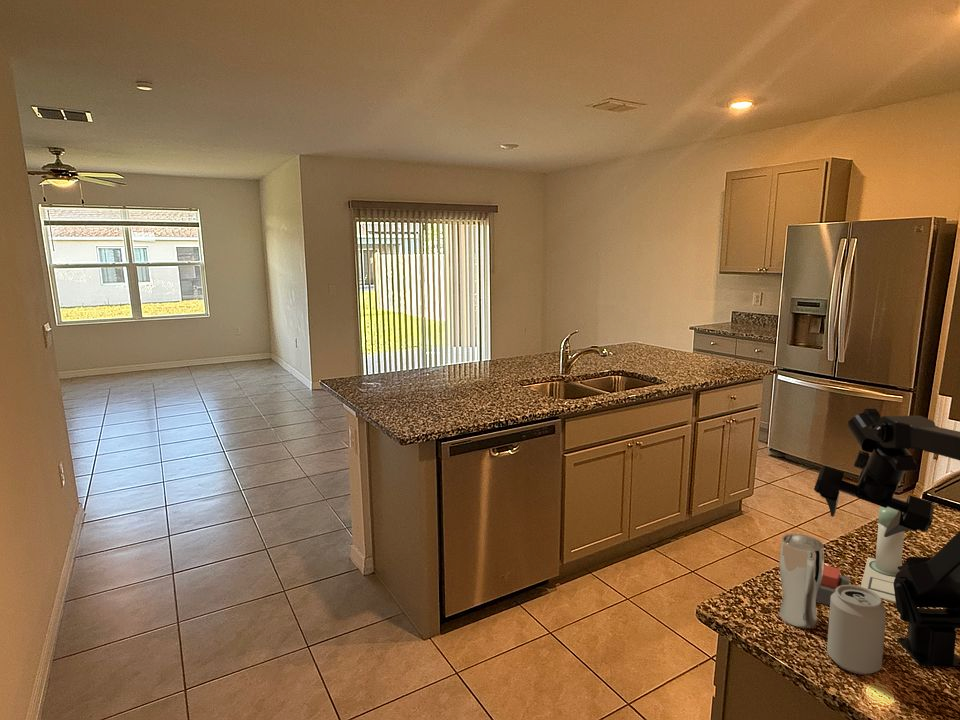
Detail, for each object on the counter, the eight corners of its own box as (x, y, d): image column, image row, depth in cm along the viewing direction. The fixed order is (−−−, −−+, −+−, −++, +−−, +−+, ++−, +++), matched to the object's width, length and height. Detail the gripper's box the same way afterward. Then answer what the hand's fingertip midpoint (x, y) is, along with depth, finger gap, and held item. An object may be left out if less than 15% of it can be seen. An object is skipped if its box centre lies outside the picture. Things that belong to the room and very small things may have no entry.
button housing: (844, 609, 106) (845, 595, 105) (798, 596, 111) (799, 582, 110) (849, 591, 112) (850, 577, 111) (805, 579, 116) (806, 565, 116)
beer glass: (797, 633, 100) (802, 553, 97) (768, 611, 106) (771, 536, 104) (829, 625, 102) (834, 547, 99) (798, 604, 108) (802, 530, 106)
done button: (836, 593, 108) (837, 578, 107) (809, 585, 111) (810, 571, 110) (839, 583, 111) (840, 568, 111) (813, 576, 114) (814, 562, 113)
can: (864, 647, 95) (869, 581, 94) (891, 679, 88) (898, 608, 86) (817, 646, 96) (822, 580, 94) (841, 677, 89) (846, 607, 87)
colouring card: (907, 606, 106) (907, 604, 106) (859, 593, 111) (859, 591, 111) (911, 568, 119) (911, 567, 119) (867, 558, 124) (867, 556, 124)
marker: (899, 576, 116) (904, 516, 114) (872, 568, 119) (877, 510, 117) (902, 567, 119) (908, 509, 117) (876, 560, 122) (881, 503, 120)
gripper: (949, 463, 105) (918, 518, 114) (835, 427, 115) (815, 481, 124) (945, 502, 98) (912, 557, 107) (824, 461, 108) (803, 515, 117)
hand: (858, 525), depth 114 cm, fingers open, 9 cm apart
